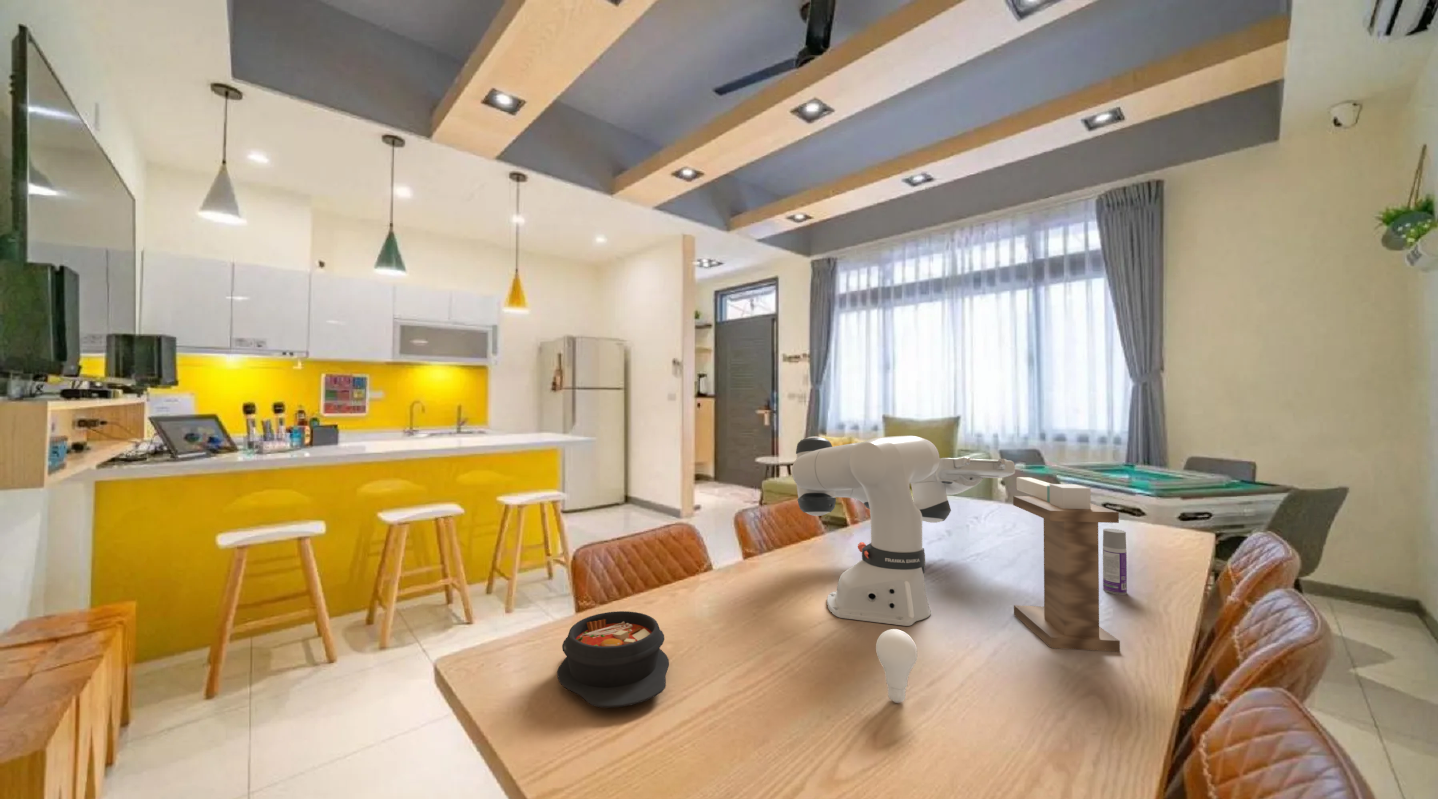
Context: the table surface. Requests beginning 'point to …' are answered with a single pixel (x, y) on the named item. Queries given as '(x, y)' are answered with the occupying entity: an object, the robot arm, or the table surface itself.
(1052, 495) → the bar
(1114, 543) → the container
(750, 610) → the table surface
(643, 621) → the casserole
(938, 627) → the table surface
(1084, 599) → the wooden i-beam block
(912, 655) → the lightbulb
